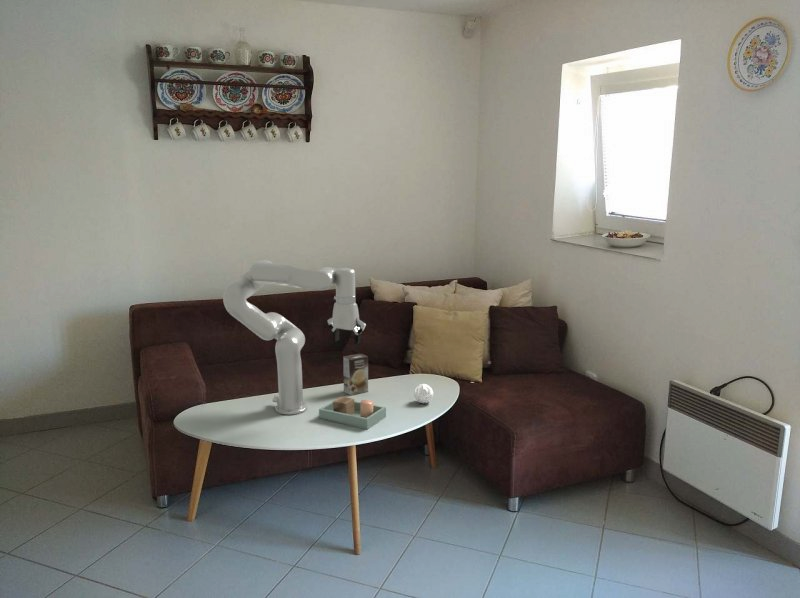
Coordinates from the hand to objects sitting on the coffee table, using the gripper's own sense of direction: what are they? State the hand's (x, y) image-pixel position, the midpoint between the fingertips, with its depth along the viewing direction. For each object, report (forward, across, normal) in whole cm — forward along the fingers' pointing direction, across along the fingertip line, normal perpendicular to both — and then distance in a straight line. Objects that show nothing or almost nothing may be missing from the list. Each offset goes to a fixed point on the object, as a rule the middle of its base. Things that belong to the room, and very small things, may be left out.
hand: (346, 342), depth 248 cm
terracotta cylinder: (+28, +12, -6) cm, 31 cm away
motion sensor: (+28, +23, +22) cm, 43 cm away
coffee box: (+28, -9, +20) cm, 36 cm away
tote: (+28, +6, -6) cm, 30 cm away
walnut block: (+28, +2, -6) cm, 28 cm away
